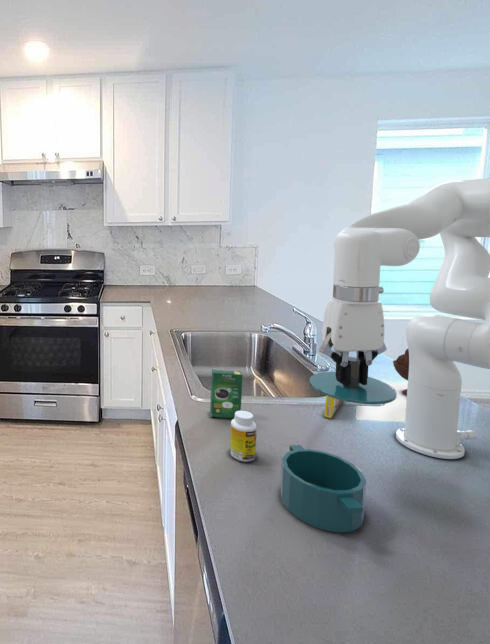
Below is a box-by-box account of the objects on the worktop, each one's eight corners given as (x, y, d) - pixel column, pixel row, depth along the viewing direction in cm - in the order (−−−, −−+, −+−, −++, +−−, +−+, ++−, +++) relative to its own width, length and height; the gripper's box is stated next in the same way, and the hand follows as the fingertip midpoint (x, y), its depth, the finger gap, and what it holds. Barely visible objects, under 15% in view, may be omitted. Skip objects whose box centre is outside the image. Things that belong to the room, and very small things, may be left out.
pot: (324, 473, 88) (326, 440, 87) (393, 543, 69) (396, 502, 68) (262, 475, 87) (263, 443, 86) (314, 546, 68) (316, 505, 68)
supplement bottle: (245, 465, 91) (247, 422, 90) (225, 454, 96) (225, 412, 94) (260, 457, 94) (262, 415, 93) (239, 446, 99) (240, 406, 97)
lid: (360, 375, 90) (362, 345, 89) (416, 405, 75) (418, 371, 75) (295, 378, 90) (296, 349, 89) (338, 409, 75) (340, 374, 74)
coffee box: (239, 414, 114) (240, 370, 113) (241, 419, 112) (242, 373, 110) (210, 413, 116) (210, 368, 114) (211, 417, 113) (211, 372, 112)
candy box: (332, 419, 111) (334, 390, 110) (323, 417, 112) (325, 388, 111) (345, 399, 123) (346, 373, 122) (336, 397, 124) (338, 371, 123)
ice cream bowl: (383, 386, 131) (386, 341, 129) (421, 388, 129) (425, 342, 128) (404, 401, 120) (408, 352, 119) (446, 403, 119) (450, 353, 117)
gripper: (381, 288, 84) (376, 373, 86) (303, 291, 84) (301, 377, 86) (411, 295, 77) (405, 388, 79) (326, 299, 76) (323, 392, 78)
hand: (351, 381), depth 82 cm, fingers closed on lid, 2 cm apart
